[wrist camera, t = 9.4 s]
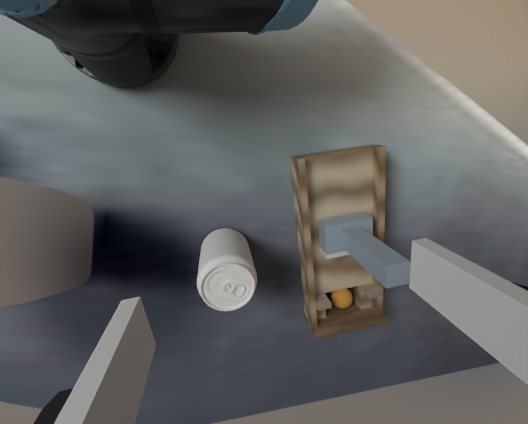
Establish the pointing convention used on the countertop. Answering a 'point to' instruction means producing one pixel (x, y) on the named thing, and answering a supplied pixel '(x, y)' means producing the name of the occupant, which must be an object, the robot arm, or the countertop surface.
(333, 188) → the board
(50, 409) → the robot arm
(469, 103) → the countertop surface
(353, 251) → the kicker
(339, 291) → the ball
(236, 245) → the beverage can
